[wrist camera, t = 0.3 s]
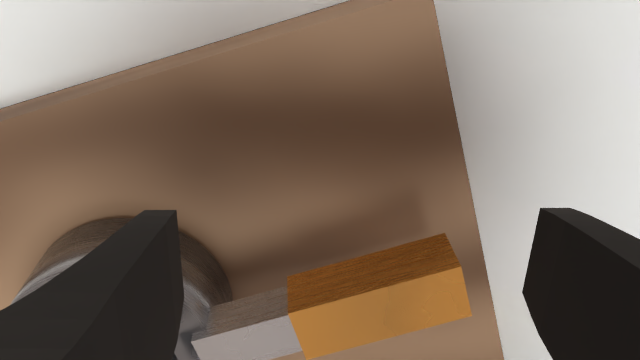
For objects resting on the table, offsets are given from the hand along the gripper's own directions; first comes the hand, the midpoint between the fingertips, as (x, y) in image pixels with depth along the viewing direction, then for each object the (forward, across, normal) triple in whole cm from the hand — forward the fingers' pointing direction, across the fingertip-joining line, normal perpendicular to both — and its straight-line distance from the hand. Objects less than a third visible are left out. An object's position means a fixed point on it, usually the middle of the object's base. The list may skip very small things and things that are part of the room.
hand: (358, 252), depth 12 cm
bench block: (+10, +3, +8) cm, 13 cm away
